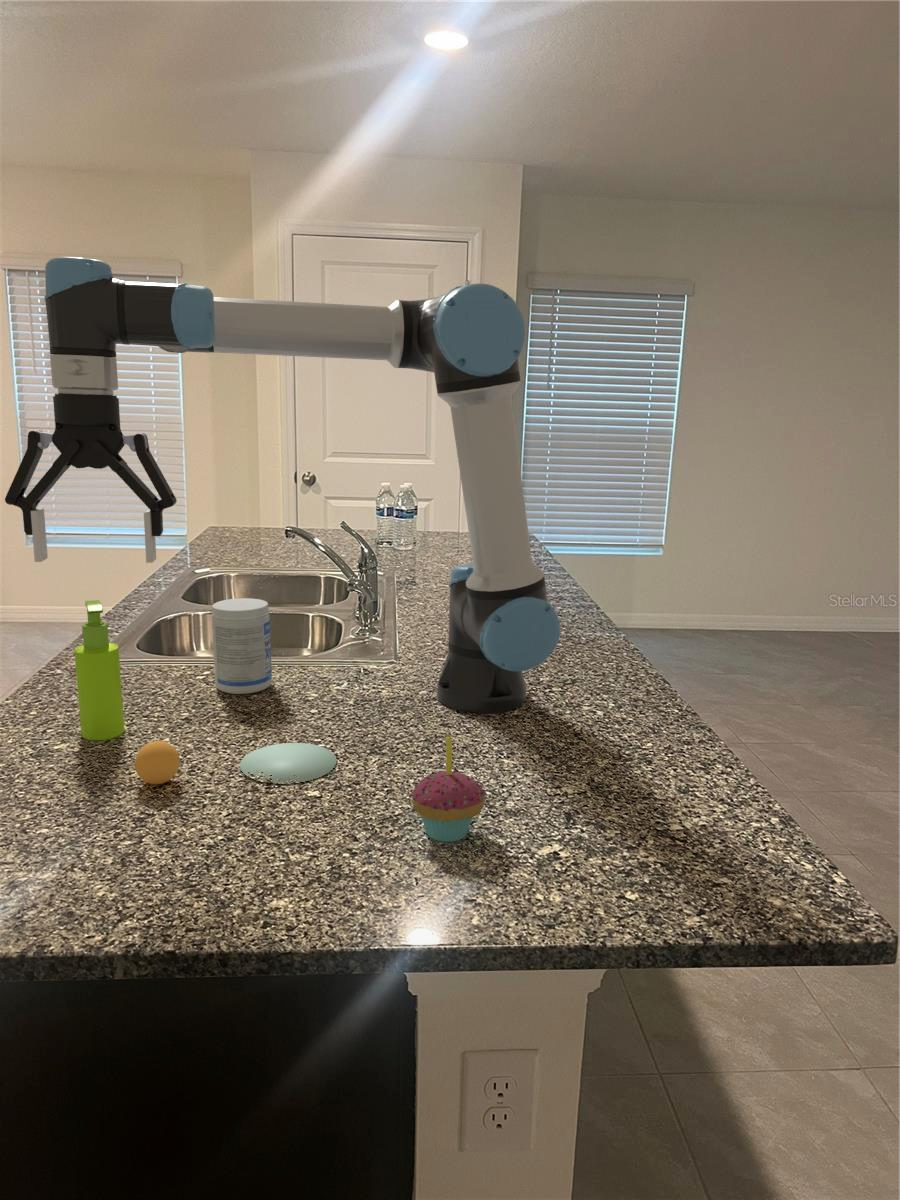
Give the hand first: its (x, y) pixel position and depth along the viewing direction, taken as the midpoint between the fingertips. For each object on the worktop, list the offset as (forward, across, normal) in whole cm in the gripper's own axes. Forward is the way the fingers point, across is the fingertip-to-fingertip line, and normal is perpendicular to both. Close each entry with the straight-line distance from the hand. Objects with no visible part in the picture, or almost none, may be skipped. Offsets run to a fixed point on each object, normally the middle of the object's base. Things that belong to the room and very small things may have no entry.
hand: (96, 560), depth 108 cm
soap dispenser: (+28, -3, +9) cm, 29 cm away
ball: (+25, +8, -8) cm, 27 cm away
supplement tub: (+28, +16, +28) cm, 42 cm away
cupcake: (+28, +44, -25) cm, 57 cm away
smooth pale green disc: (+27, +24, -4) cm, 37 cm away
